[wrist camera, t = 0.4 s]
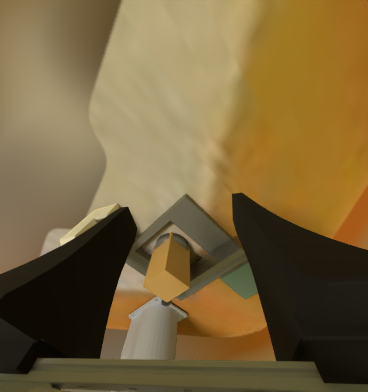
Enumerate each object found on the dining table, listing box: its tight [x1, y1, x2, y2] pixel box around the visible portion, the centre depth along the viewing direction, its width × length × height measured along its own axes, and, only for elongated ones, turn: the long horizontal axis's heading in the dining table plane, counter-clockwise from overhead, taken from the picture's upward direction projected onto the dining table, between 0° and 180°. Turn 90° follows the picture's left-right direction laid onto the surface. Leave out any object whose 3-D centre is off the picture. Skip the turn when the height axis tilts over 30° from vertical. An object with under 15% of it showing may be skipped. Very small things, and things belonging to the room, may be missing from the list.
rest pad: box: [220, 261, 258, 299], centre depth 27 cm, size 8×7×1 cm
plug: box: [143, 232, 190, 302], centre depth 22 cm, size 5×5×7 cm
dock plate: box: [125, 194, 248, 300], centre depth 25 cm, size 15×14×1 cm
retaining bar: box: [161, 236, 245, 306], centre depth 23 cm, size 15×1×3 cm, turn 135°
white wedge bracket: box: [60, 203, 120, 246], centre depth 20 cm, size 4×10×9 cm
